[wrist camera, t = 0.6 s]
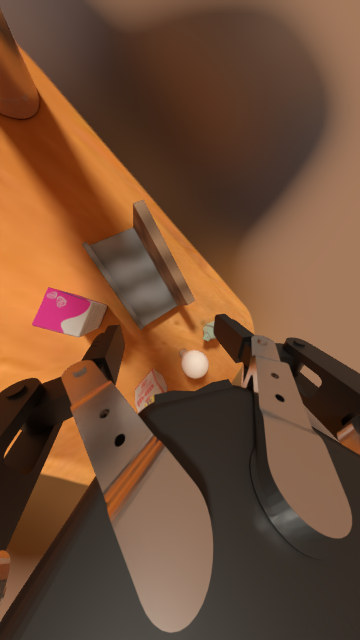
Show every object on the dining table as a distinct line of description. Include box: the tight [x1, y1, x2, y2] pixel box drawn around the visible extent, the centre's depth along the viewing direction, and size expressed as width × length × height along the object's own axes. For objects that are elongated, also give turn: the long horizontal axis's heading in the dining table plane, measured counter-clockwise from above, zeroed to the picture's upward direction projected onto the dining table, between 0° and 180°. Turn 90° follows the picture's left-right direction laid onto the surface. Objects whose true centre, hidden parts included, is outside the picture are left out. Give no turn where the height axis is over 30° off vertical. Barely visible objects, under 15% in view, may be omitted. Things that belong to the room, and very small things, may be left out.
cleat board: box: [82, 200, 195, 330], centre depth 27 cm, size 20×13×9 cm, turn 31°
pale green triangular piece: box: [203, 321, 216, 341], centre depth 36 cm, size 8×4×7 cm, turn 135°
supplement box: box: [32, 288, 108, 337], centre depth 23 cm, size 6×6×12 cm
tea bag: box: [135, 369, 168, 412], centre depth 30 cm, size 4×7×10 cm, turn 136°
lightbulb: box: [179, 349, 209, 379], centre depth 32 cm, size 6×6×11 cm
